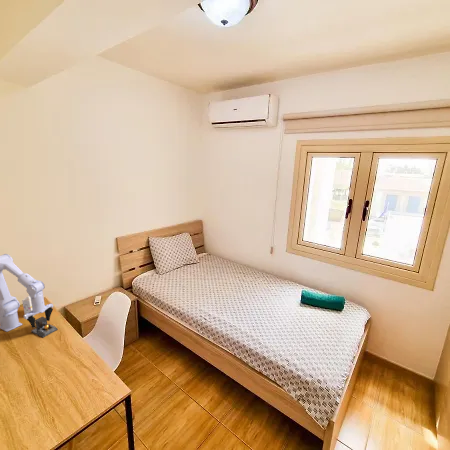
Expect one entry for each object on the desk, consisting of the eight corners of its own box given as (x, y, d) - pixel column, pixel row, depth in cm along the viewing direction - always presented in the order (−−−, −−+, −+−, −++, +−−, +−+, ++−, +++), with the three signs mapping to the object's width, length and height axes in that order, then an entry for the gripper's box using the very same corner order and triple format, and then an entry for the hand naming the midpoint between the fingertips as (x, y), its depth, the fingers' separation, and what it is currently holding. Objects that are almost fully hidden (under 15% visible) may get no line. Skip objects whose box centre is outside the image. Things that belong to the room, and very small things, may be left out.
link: (34, 330, 142) (32, 321, 141) (45, 324, 148) (44, 315, 146) (44, 335, 138) (43, 325, 137) (55, 329, 144) (54, 320, 142)
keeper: (31, 332, 142) (30, 325, 141) (46, 324, 149) (45, 318, 148) (43, 337, 138) (41, 330, 137) (57, 329, 145) (56, 322, 144)
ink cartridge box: (34, 309, 165) (31, 289, 162) (42, 309, 165) (39, 289, 162) (24, 317, 157) (20, 295, 154) (32, 317, 157) (28, 295, 154)
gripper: (27, 310, 133) (31, 332, 136) (55, 298, 146) (58, 319, 148) (20, 307, 136) (23, 329, 138) (48, 295, 149) (50, 316, 151)
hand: (41, 323), depth 144 cm, fingers open, 7 cm apart
